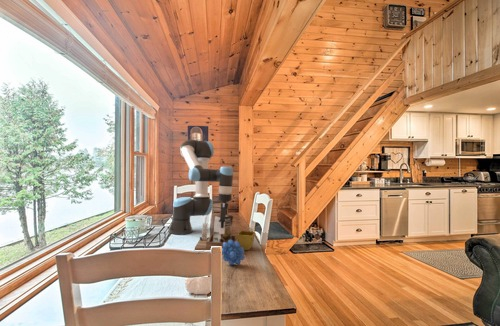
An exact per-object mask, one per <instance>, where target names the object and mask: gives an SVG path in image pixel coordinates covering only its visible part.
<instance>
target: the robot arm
mask: <svg viewBox="0 0 500 326" xmlns="http://www.w3.org/2000/svg"><path fill="white" fill-rule="evenodd" d="M214 151H215V150H214V146H213V143H212V142H211V141H208V140H207V141H206V140H198V139H186V140H185V141H183V142H182V143H181V144H180V147H179V153H180V155H181V157H182V158H183V159H184V160H185V163H186V165H187V167H188V169H189V170H188V180H189V181H190V182H195V195H193V197H190V196H183V197H177V198H175V199H174V200H173V205H172V207H173V208H172V221H171V223H170V225H169V228H168V232H170V233H169V234H172V235H176V236H177V235H179V236H180V235H181V234H183V235H188V233H189V234H191V233H192V232H193V227H192V223H191V217H198V216H199V217H200V216H203V217H204V216H209V215H210V214H211V212H212V211H213V204H214V203H213V200H212V199H211V197H210V195H209V191H208V190H209V182H210V183H212V182H213V183H215V182H217V183H218V197H217V198H218V200H219V201H222V202H221V203H220V215H221V216H220V220H219V222H220V232H219V234H224V233H225V215H228V210H229V209H228V207H229V203H228V202H230V201H232V198H233V195H232V193H233V190H234V187H233V179H234V168H233V167H232V166H221V167H220V168H218V169H217V168H214V169H213V168H209V161H210V160H211V158H212V157H213V156H214V153H215V152H214ZM181 236H182V235H181Z"/></svg>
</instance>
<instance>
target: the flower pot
mask: <svg viewBox="0 0 500 326" xmlns="http://www.w3.org/2000/svg"><path fill="white" fill-rule="evenodd" d="M255 235H256V232H255V231H251V230H250V231H249V230H248V231H247V230H240V231H239V232H238V233H237V234H236V236H237V242H239V243H240V247H243V248H244V251H249V250H251V248H252V246H253V244H254V240H255Z"/></svg>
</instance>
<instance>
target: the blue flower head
mask: <svg viewBox="0 0 500 326" xmlns="http://www.w3.org/2000/svg"><path fill="white" fill-rule="evenodd" d="M244 253H245V250H244V248H243V247H240V243H239V242H238V240H237V241H236V242H235V243H234V241H233V240H231V239H230V240H228V243H227V242H224V243H223V248H222V254H221V255H222V260H223V261H225V262H228V264H229V265H230V266H234V265H237V266H239V265H241V263H242V261H243V260H245V257H246V256H245V255H244Z"/></svg>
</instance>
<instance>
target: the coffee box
mask: <svg viewBox="0 0 500 326" xmlns="http://www.w3.org/2000/svg"><path fill="white" fill-rule="evenodd" d="M220 216H221V214H220V215H215V216H214V223H213V234H214V236H213V242H222V243H224V242H227V243H228V240H230V239H231V237H232V235H233V222H234V220H233V219H234V215H230V214H227V215H225V233H224V234H219V232H220V222H219V220H220Z"/></svg>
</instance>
